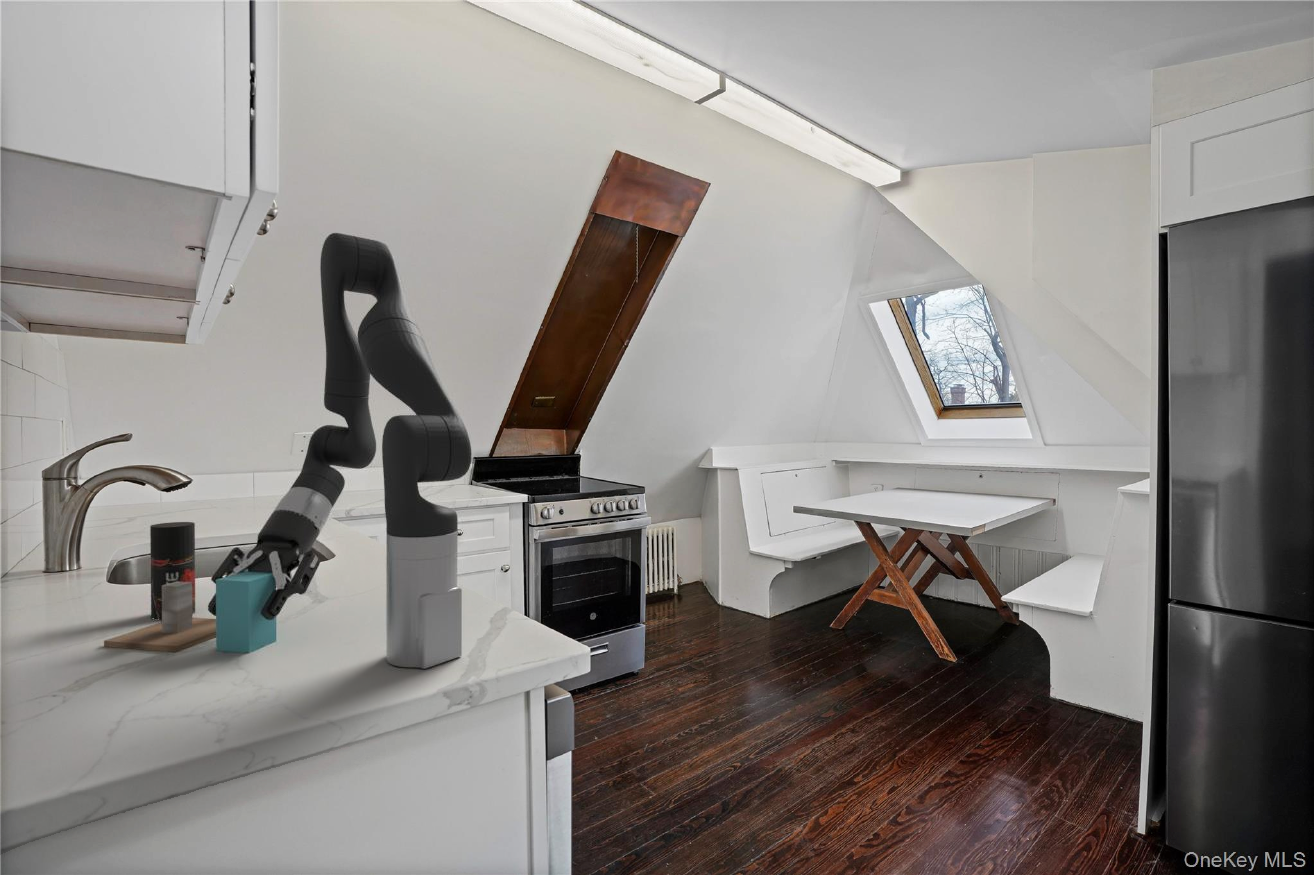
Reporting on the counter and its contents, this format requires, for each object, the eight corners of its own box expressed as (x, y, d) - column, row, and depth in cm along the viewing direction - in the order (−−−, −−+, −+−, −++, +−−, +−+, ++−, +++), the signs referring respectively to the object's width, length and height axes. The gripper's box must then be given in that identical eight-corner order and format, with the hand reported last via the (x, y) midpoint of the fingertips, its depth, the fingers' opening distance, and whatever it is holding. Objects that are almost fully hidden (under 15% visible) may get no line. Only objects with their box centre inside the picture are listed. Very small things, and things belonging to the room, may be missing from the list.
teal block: (276, 640, 97) (276, 573, 97) (248, 652, 92) (248, 581, 91) (245, 638, 98) (244, 571, 97) (216, 650, 93) (215, 579, 92)
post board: (244, 625, 104) (243, 576, 103) (176, 651, 92) (176, 596, 92) (178, 621, 106) (177, 573, 105) (103, 646, 94) (103, 591, 94)
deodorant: (158, 622, 105) (157, 528, 105) (145, 615, 109) (145, 524, 109) (200, 613, 110) (200, 524, 110) (187, 607, 114) (187, 520, 113)
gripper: (243, 506, 103) (179, 598, 92) (326, 509, 100) (270, 604, 89) (269, 534, 108) (211, 625, 97) (348, 538, 106) (297, 631, 95)
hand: (239, 615), depth 93 cm, fingers open, 8 cm apart
